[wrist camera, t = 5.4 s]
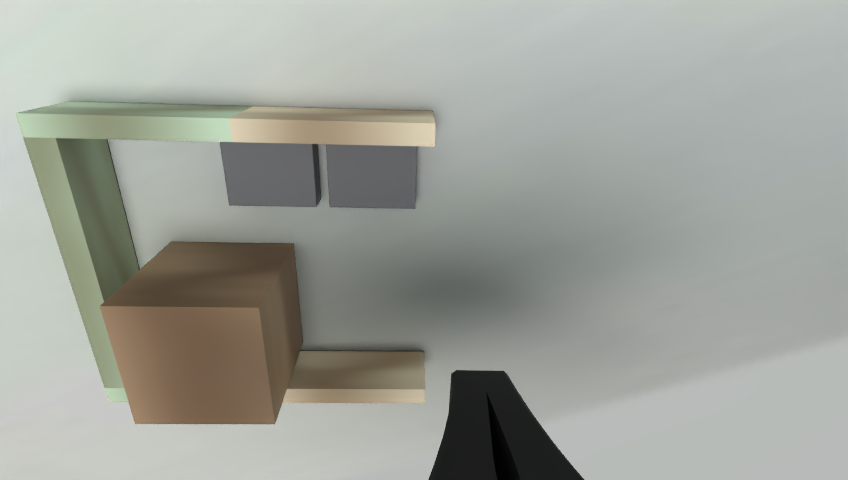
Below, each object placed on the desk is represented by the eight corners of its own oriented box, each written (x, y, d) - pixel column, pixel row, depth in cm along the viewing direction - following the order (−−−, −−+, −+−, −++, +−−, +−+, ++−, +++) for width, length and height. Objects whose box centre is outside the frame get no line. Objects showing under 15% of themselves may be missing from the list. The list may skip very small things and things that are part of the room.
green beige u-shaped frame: (432, 110, 14) (436, 123, 12) (423, 364, 18) (424, 402, 16) (68, 101, 13) (15, 113, 12) (140, 362, 17) (109, 402, 16)
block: (294, 242, 16) (258, 307, 12) (303, 340, 17) (274, 424, 14) (172, 240, 16) (99, 306, 12) (193, 339, 17) (135, 423, 14)
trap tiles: (416, 137, 14) (416, 143, 13) (414, 199, 15) (415, 208, 14) (229, 133, 14) (219, 139, 13) (238, 196, 15) (229, 205, 14)
